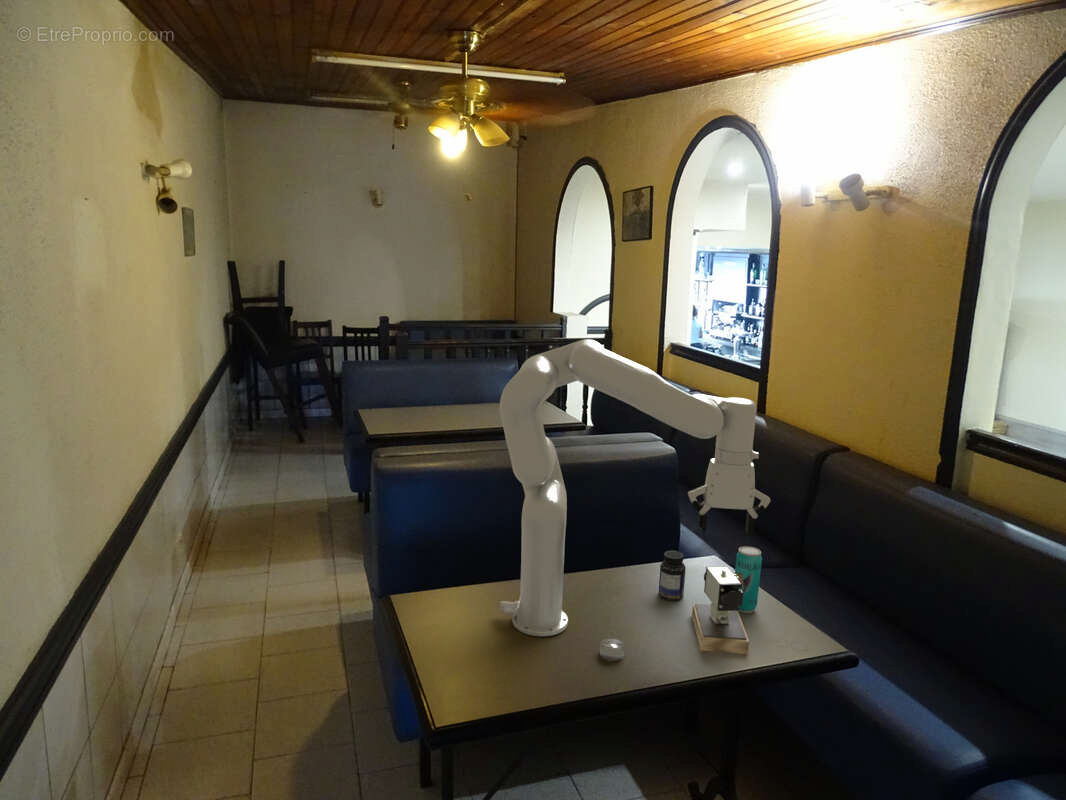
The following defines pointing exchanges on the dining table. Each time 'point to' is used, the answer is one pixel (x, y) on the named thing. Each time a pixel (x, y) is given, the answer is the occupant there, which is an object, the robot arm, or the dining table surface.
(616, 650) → the steel spacer
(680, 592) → the pill bottle
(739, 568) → the beverage can
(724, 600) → the pneumatic valve
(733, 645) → the framed panel
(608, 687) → the dining table surface
